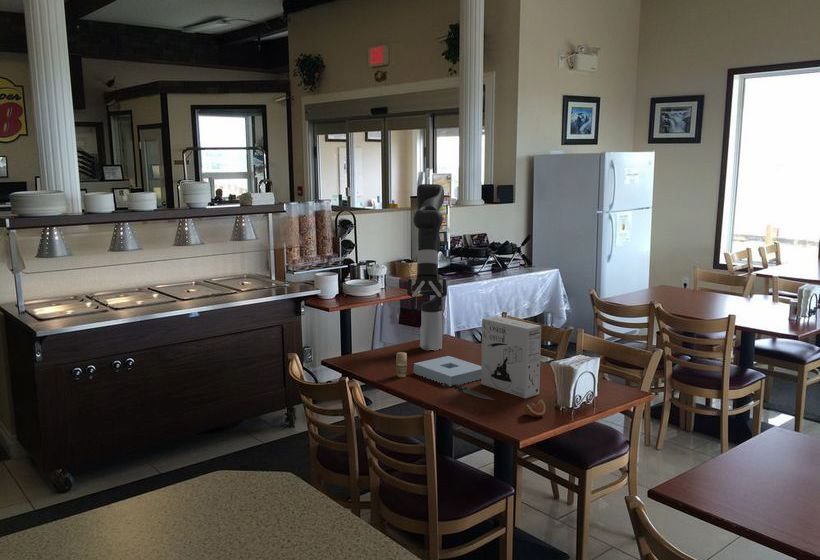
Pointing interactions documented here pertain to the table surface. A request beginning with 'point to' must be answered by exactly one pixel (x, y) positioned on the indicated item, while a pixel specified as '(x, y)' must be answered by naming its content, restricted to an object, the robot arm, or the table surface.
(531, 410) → the fruit slice
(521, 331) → the cereal box
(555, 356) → the table surface
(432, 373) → the board
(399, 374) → the peg
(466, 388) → the knife
